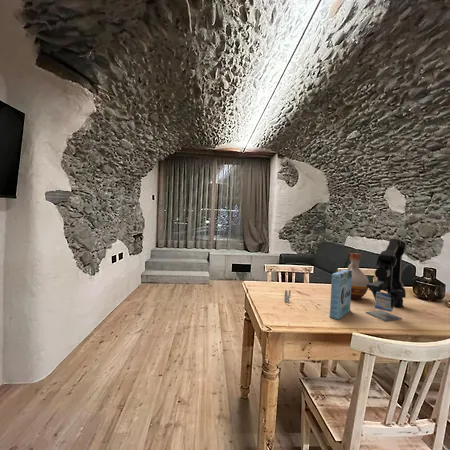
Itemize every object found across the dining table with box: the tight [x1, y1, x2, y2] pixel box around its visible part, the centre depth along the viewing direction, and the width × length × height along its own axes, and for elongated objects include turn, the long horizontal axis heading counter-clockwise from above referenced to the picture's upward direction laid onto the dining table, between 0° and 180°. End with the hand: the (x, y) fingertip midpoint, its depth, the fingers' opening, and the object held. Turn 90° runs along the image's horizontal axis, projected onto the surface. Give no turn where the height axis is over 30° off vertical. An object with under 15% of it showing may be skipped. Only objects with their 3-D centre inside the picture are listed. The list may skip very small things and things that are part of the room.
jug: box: [346, 252, 370, 301], centre depth 173 cm, size 20×18×30 cm
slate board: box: [365, 309, 403, 322], centre depth 143 cm, size 12×12×1 cm
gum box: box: [329, 269, 352, 320], centre depth 142 cm, size 20×5×23 cm, turn 138°
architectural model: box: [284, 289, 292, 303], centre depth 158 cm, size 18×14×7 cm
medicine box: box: [374, 291, 394, 313], centre depth 142 cm, size 8×4×9 cm, turn 47°
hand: (384, 305), depth 142 cm, fingers closed on medicine box, 9 cm apart
